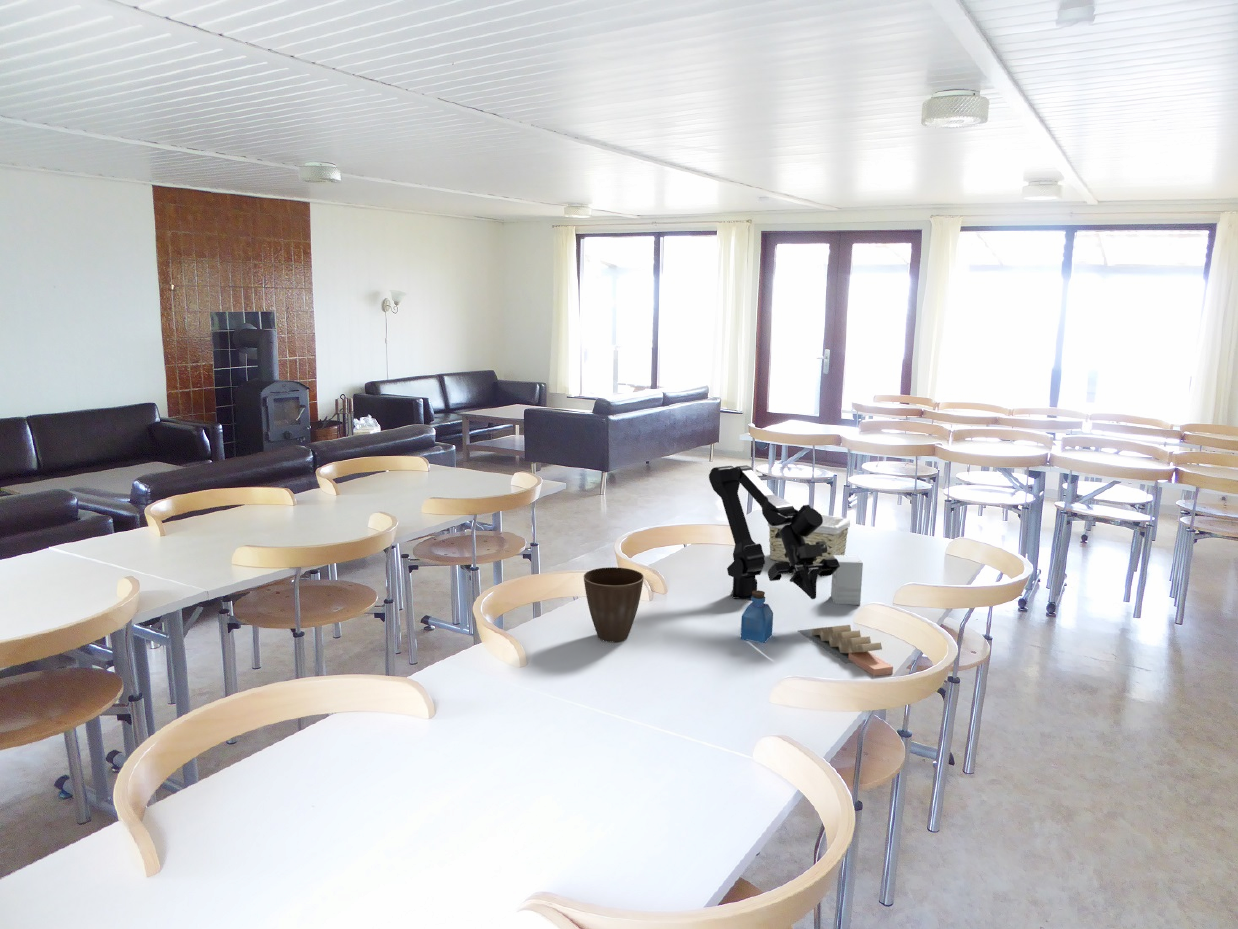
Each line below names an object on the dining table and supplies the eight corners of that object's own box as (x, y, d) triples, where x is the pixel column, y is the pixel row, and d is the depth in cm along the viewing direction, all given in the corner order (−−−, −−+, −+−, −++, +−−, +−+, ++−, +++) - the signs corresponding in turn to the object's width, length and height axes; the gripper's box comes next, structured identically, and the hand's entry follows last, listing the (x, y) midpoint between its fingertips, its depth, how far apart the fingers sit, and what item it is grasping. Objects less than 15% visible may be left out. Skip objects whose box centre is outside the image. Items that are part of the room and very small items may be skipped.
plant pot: (636, 651, 204) (637, 587, 201) (576, 645, 207) (577, 582, 204) (646, 629, 218) (648, 569, 215) (590, 624, 221) (591, 565, 218)
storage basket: (764, 560, 284) (766, 517, 281) (781, 549, 297) (783, 508, 295) (834, 572, 272) (836, 527, 269) (849, 560, 285) (851, 517, 283)
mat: (797, 631, 218) (797, 630, 218) (827, 628, 221) (827, 627, 221) (845, 664, 198) (846, 663, 198) (878, 660, 201) (878, 659, 201)
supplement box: (855, 597, 246) (858, 555, 244) (860, 605, 239) (863, 562, 237) (830, 596, 247) (832, 554, 245) (833, 604, 240) (836, 561, 238)
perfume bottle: (740, 639, 212) (742, 593, 210) (748, 631, 218) (750, 587, 216) (764, 644, 210) (766, 597, 207) (772, 636, 215) (774, 591, 213)
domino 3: (829, 640, 208) (851, 638, 199) (846, 638, 209) (869, 636, 200) (830, 647, 207) (852, 645, 198) (847, 644, 209) (871, 643, 200)
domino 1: (811, 629, 215) (832, 626, 206) (828, 627, 217) (850, 624, 208) (812, 635, 215) (833, 633, 206) (829, 633, 216) (851, 631, 207)
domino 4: (838, 646, 204) (862, 644, 195) (856, 644, 205) (880, 642, 196) (839, 653, 203) (863, 651, 194) (857, 651, 205) (882, 649, 196)
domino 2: (820, 634, 212) (841, 632, 202) (837, 632, 213) (859, 630, 204) (821, 641, 211) (843, 639, 202) (838, 639, 213) (860, 637, 204)
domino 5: (848, 652, 200) (874, 669, 191) (866, 650, 202) (893, 666, 192) (848, 659, 200) (873, 676, 191) (866, 656, 202) (892, 673, 192)
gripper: (775, 532, 217) (795, 587, 209) (838, 528, 223) (859, 581, 214) (759, 553, 226) (777, 606, 217) (820, 548, 231) (840, 600, 223)
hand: (814, 598), depth 218 cm, fingers closed
